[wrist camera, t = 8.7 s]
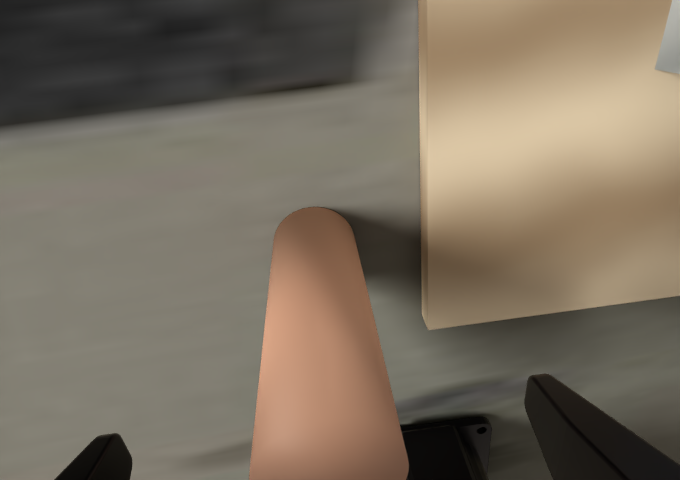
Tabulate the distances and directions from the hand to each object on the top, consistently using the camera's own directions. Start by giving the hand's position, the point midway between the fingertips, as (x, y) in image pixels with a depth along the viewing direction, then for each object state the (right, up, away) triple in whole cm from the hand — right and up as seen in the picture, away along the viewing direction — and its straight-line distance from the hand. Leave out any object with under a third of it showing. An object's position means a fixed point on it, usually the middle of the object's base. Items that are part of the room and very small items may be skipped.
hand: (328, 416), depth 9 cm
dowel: (-1, +4, +7) cm, 8 cm away
